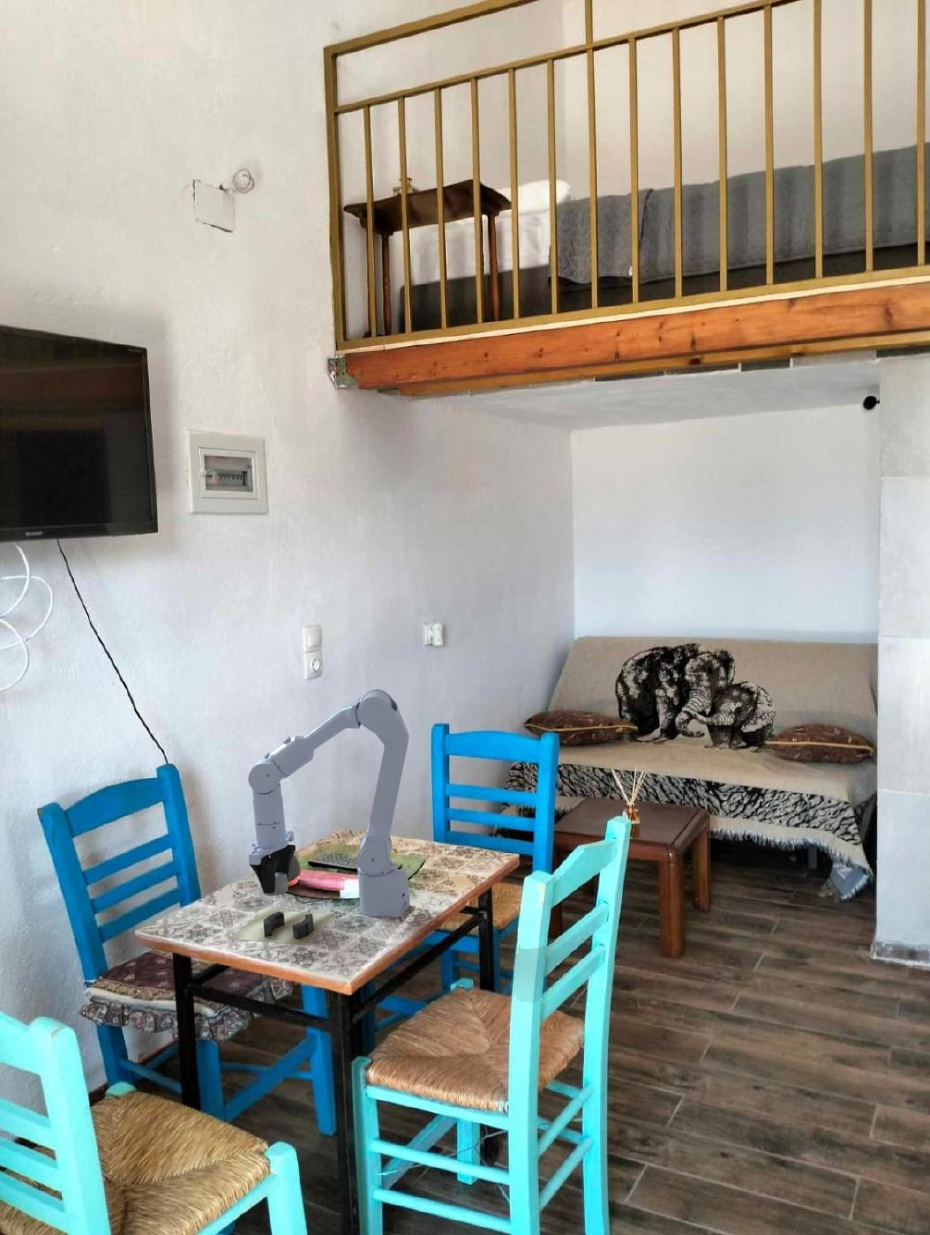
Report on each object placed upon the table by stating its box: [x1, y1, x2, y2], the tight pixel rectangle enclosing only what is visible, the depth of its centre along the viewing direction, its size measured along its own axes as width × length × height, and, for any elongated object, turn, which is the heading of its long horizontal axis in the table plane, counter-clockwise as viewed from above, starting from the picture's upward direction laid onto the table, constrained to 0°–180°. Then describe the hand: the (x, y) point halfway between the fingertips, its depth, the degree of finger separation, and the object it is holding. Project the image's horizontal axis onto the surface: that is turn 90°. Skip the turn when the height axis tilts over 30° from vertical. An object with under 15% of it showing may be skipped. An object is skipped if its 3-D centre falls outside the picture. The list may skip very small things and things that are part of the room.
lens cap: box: [262, 872, 289, 897], centre depth 196 cm, size 5×5×3 cm
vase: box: [288, 853, 302, 882], centre depth 214 cm, size 7×7×9 cm
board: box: [228, 909, 339, 946], centre depth 191 cm, size 16×14×1 cm
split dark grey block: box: [263, 912, 314, 940], centre depth 188 cm, size 9×6×2 cm
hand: (275, 887), depth 196 cm, fingers closed on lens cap, 5 cm apart
